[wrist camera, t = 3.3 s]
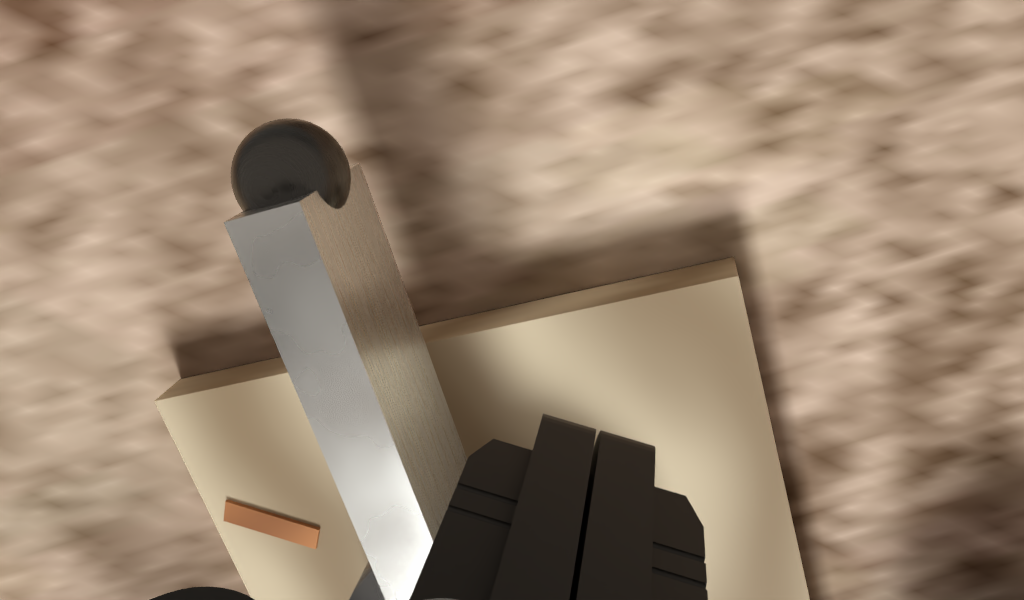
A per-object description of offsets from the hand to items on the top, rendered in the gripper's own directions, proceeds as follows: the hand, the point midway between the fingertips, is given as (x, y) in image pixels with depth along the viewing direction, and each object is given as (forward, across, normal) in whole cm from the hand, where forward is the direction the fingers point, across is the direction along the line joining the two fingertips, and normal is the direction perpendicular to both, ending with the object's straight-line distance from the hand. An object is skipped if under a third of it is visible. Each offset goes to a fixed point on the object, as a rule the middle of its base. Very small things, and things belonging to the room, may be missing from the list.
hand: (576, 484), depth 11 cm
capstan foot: (+11, +3, +8) cm, 14 cm away
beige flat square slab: (+13, 0, +13) cm, 18 cm away
